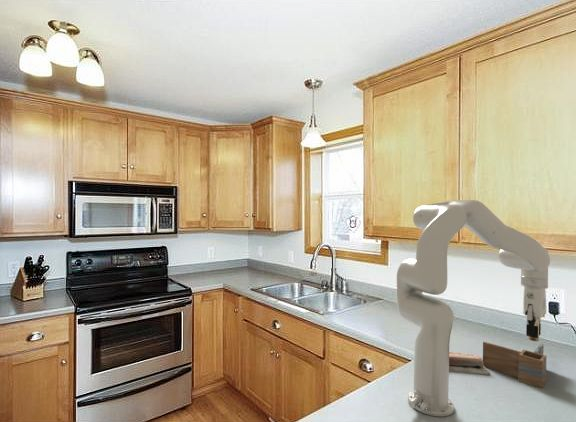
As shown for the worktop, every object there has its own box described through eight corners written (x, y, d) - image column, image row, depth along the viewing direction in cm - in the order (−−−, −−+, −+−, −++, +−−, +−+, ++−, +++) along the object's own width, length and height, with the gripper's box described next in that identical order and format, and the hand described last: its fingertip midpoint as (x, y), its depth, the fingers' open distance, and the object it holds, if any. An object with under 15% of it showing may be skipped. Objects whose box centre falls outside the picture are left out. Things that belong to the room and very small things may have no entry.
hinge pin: (542, 344, 111) (542, 315, 111) (520, 339, 116) (521, 310, 116) (546, 339, 115) (546, 311, 115) (525, 335, 120) (525, 307, 120)
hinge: (541, 388, 111) (542, 361, 111) (479, 368, 124) (480, 344, 124) (552, 371, 123) (553, 346, 123) (495, 354, 137) (496, 332, 137)
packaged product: (436, 357, 123) (430, 346, 132) (436, 370, 123) (429, 359, 132) (490, 362, 119) (479, 351, 129) (489, 376, 119) (479, 363, 129)
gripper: (542, 287, 107) (541, 345, 107) (552, 280, 118) (551, 332, 118) (514, 283, 113) (514, 338, 113) (526, 277, 124) (526, 327, 124)
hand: (533, 334), depth 115 cm, fingers closed on hinge pin, 3 cm apart
